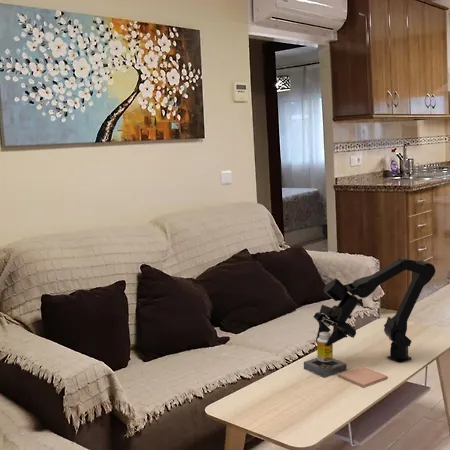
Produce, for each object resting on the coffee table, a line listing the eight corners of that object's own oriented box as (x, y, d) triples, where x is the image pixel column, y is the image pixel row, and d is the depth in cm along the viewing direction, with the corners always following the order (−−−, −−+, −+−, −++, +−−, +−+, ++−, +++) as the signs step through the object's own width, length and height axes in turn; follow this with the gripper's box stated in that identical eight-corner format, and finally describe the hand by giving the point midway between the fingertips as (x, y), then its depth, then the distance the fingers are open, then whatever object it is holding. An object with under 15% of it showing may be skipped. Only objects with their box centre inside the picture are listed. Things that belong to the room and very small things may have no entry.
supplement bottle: (324, 364, 213) (324, 336, 212) (314, 359, 218) (313, 333, 217) (336, 360, 216) (335, 333, 215) (325, 356, 221) (325, 329, 220)
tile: (362, 368, 217) (362, 365, 217) (387, 378, 207) (387, 376, 207) (338, 376, 211) (338, 374, 210) (363, 387, 201) (363, 384, 201)
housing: (325, 361, 225) (325, 355, 225) (346, 370, 216) (346, 363, 216) (303, 368, 219) (303, 361, 219) (324, 377, 210) (324, 371, 210)
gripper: (316, 291, 224) (293, 324, 220) (349, 302, 208) (324, 338, 204) (333, 307, 229) (311, 340, 225) (366, 319, 212) (343, 355, 209)
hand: (321, 343), depth 216 cm, fingers closed on supplement bottle, 5 cm apart
